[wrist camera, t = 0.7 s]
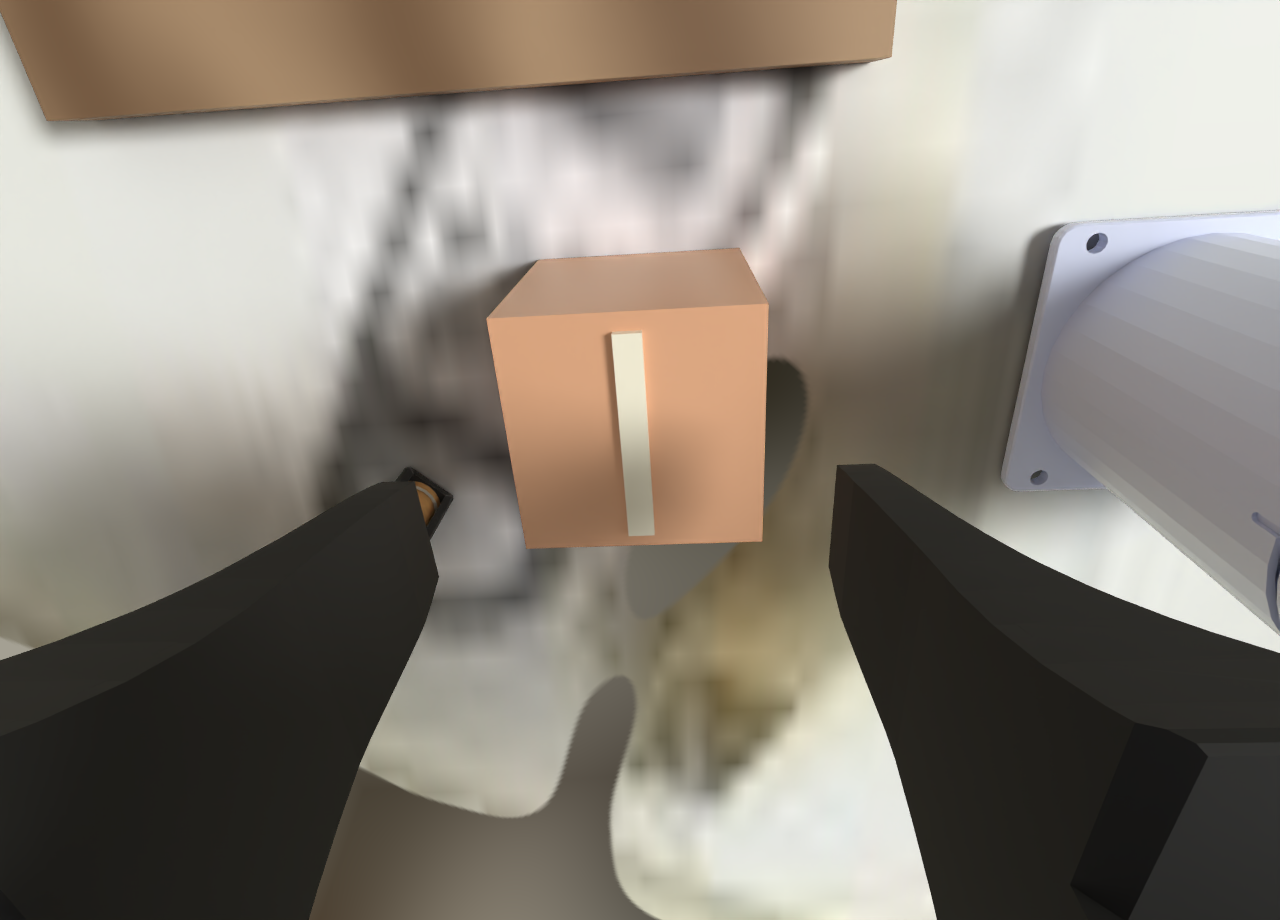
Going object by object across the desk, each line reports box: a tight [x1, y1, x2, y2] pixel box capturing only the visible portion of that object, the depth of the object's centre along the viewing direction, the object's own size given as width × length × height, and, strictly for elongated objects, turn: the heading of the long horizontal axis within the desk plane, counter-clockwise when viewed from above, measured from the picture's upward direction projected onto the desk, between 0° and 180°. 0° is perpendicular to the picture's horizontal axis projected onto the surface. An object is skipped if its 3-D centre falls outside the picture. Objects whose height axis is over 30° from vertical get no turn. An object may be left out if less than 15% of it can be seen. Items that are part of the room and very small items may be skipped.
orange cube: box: [486, 248, 769, 549], centre depth 17 cm, size 6×6×6 cm
